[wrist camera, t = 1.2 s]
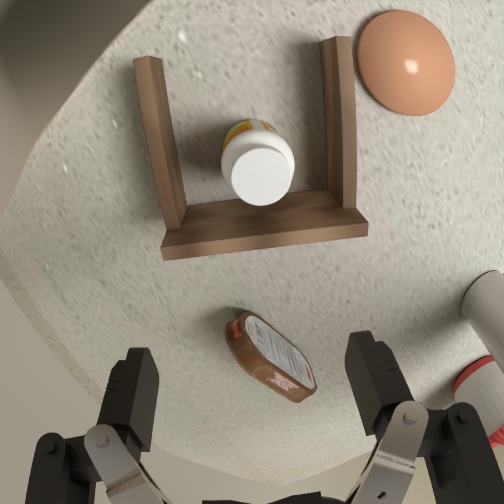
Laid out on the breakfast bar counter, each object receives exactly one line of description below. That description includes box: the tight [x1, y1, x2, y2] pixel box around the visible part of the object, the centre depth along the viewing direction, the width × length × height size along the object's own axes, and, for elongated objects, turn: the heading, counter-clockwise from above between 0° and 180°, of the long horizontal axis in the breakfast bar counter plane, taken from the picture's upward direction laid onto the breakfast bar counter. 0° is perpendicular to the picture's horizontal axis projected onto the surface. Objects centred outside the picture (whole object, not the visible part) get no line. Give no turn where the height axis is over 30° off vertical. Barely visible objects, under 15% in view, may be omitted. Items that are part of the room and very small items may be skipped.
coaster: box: [357, 10, 455, 116], centre depth 24 cm, size 11×11×1 cm
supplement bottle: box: [221, 119, 295, 206], centre depth 25 cm, size 5×5×10 cm
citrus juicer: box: [453, 356, 504, 448], centre depth 45 cm, size 16×17×20 cm
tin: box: [225, 312, 317, 403], centre depth 38 cm, size 15×3×8 cm, turn 40°
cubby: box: [133, 36, 368, 261], centre depth 24 cm, size 16×16×8 cm
